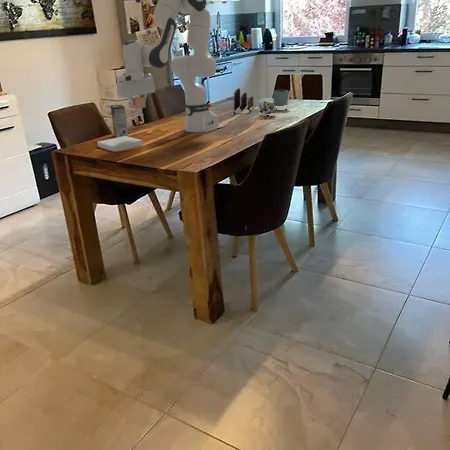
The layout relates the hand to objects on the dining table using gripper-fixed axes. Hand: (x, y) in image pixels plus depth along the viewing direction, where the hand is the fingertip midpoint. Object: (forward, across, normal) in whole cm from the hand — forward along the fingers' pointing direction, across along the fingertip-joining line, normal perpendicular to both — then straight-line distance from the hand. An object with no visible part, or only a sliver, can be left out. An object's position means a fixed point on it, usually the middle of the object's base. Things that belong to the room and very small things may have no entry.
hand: (138, 104), depth 237 cm
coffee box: (+18, +2, -17) cm, 25 cm away
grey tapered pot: (+20, -109, -1) cm, 111 cm away
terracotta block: (+2, 0, 0) cm, 2 cm away
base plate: (+18, +14, +2) cm, 23 cm away
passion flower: (+20, -85, +9) cm, 88 cm away
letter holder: (+20, -92, -18) cm, 96 cm away
